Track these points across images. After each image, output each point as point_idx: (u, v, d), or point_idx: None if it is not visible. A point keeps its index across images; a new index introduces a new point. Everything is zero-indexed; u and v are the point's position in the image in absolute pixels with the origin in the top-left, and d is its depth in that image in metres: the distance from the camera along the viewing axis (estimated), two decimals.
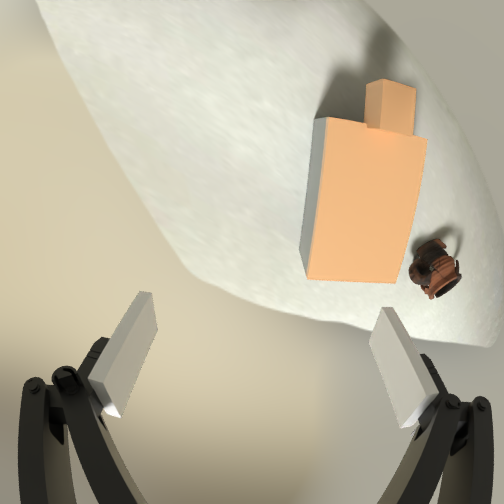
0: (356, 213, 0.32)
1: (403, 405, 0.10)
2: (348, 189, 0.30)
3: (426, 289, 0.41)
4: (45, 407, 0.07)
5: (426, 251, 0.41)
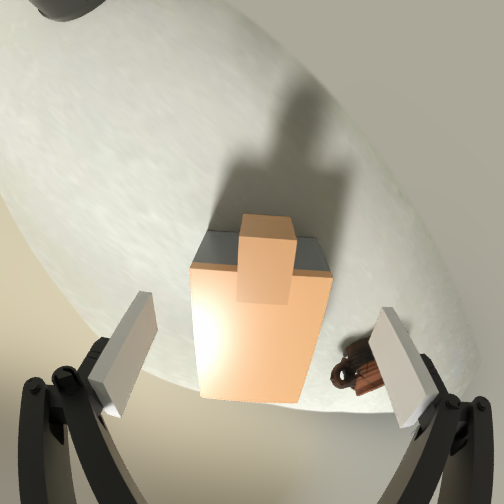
0: (237, 355, 0.29)
1: (403, 405, 0.10)
2: (224, 337, 0.28)
3: None
4: (45, 407, 0.07)
5: (356, 352, 0.39)
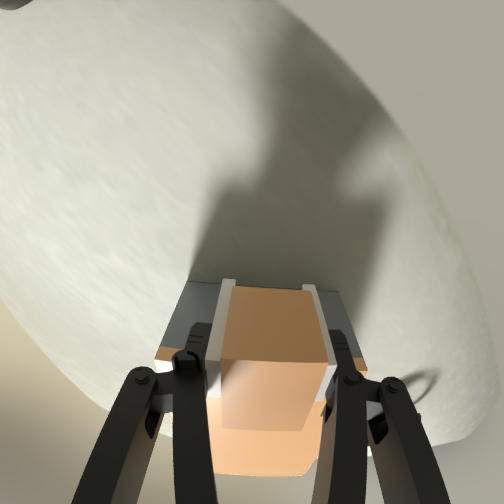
0: (231, 444, 0.20)
1: None
2: (212, 429, 0.19)
3: (369, 445, 0.29)
4: (148, 401, 0.09)
5: None
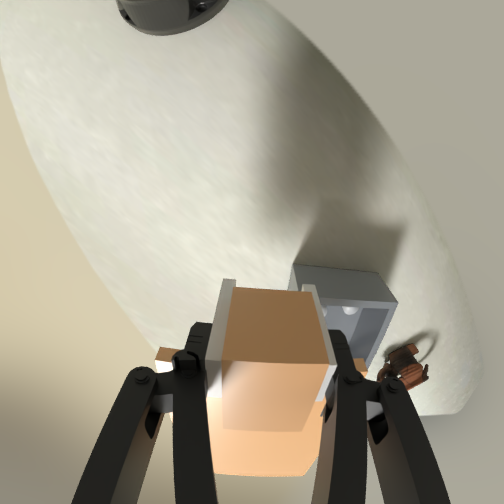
0: (231, 444, 0.20)
1: None
2: (212, 429, 0.19)
3: None
4: (148, 401, 0.09)
5: (397, 357, 0.43)
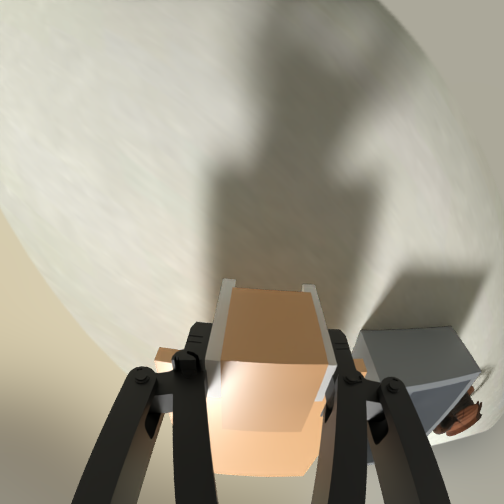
0: (230, 444, 0.20)
1: None
2: (212, 429, 0.19)
3: None
4: (148, 401, 0.09)
5: None
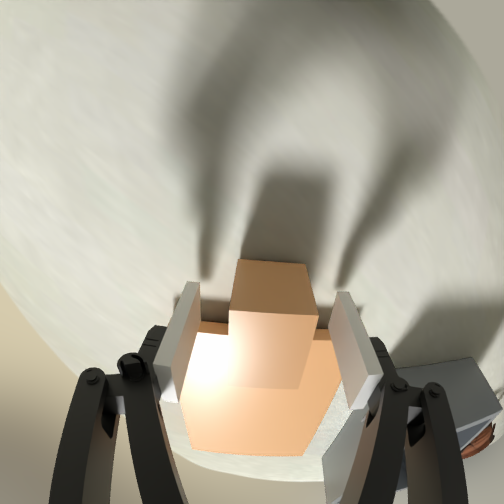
0: (233, 418, 0.22)
1: (351, 386, 0.12)
2: (216, 401, 0.21)
3: None
4: (101, 400, 0.08)
5: None
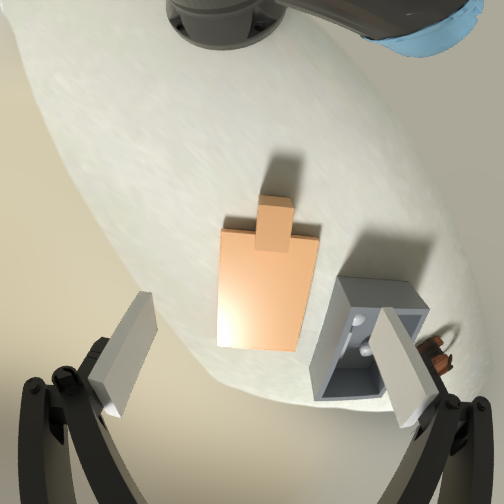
0: (250, 303, 0.41)
1: (403, 405, 0.10)
2: (241, 286, 0.40)
3: None
4: (45, 407, 0.07)
5: (425, 349, 0.45)
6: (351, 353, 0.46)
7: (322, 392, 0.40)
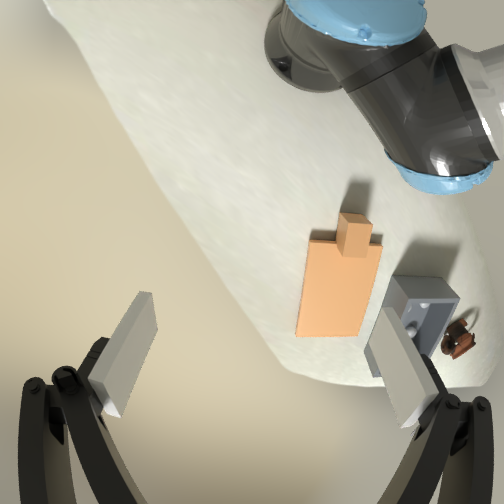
0: (327, 298, 0.49)
1: (403, 405, 0.10)
2: (322, 285, 0.48)
3: (451, 355, 0.52)
4: (45, 407, 0.07)
5: (453, 330, 0.52)
6: None
7: None
